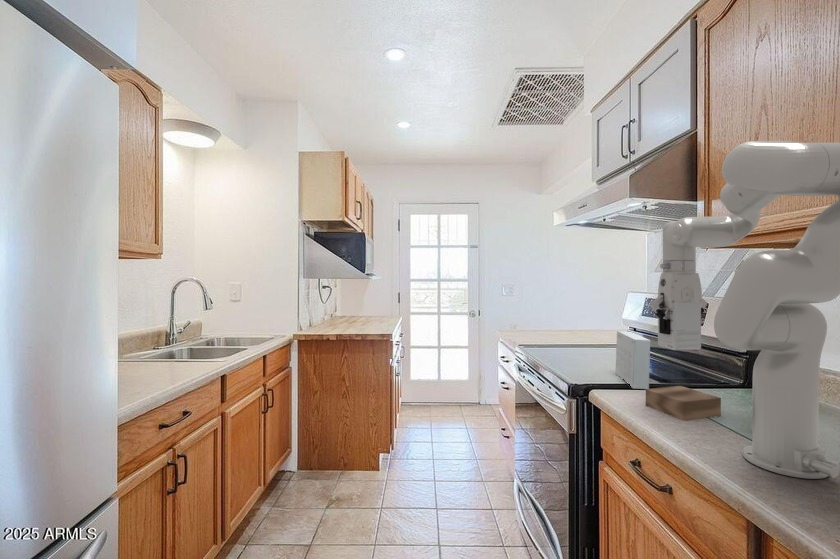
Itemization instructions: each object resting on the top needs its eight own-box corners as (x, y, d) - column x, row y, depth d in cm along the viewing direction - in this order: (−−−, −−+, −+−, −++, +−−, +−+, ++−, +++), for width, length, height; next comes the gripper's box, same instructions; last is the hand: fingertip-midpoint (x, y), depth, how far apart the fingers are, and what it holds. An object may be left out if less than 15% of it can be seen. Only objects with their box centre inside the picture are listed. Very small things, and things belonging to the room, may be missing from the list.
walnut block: (720, 417, 106) (720, 397, 106) (683, 421, 103) (683, 402, 103) (680, 403, 118) (680, 385, 118) (645, 407, 115) (645, 389, 115)
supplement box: (683, 345, 114) (683, 299, 114) (701, 350, 107) (702, 301, 107) (656, 345, 114) (656, 299, 114) (673, 350, 107) (673, 301, 107)
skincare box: (651, 390, 130) (651, 339, 130) (632, 389, 131) (632, 339, 131) (631, 374, 151) (630, 330, 150) (614, 373, 152) (614, 330, 151)
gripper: (660, 267, 105) (660, 336, 105) (719, 267, 108) (719, 334, 108) (640, 268, 112) (640, 332, 113) (695, 267, 116) (695, 330, 116)
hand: (678, 332), depth 111 cm, fingers closed on supplement box, 7 cm apart
